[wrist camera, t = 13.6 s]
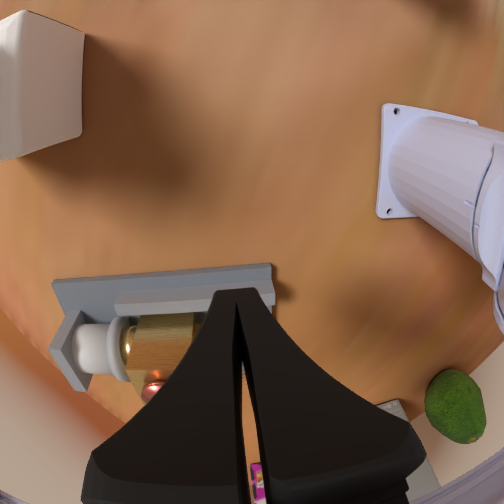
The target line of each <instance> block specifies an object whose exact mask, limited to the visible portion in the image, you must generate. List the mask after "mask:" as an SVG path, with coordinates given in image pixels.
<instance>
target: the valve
mask: <svg viewBox="0 0 504 504" xmlns="http://www.w3.org/2000/svg"><path fill="white" fill-rule="evenodd" d="M201 324H202V322H198V320H197V315H196V312H187V313H170V314H151V315H140V319H139V322H138V325H129V326H124V327H123V328H122V330H121V333H120V338H119V348H120V354H121V358H122V361H123V363H124V365H125V366H126V368H125V371H126V373H127V374H128V376H129V378H130V380H131V382H132V384H133V386H134V388H135V390H136V391H137V393H138V395H139V397H140V399H141V400H142V402H143V404H144V405H146V404H147V403H148V402H149V400H150V399H151V398H152V397H153V396H154V395H155V394H156V392H157V391H158V390H159V389H160V388H161V386H162V385H163V384H164V383H165V381H166V380H167V379H168V378H169V376H170V375H171V374H172V372H173V371H174V370H175V368H176V367H177V365H178V364H179V362H180V361H181V359H182V358H183V356H184V355H185V353H186V351H187V350H188V348H189V346H190V345H191V343H192V341H193V339H194V338H195V336H196V334H197V332H198V330H199V328H200V326H201Z"/></svg>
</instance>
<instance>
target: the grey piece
mask: <svg viewBox="0 0 504 504" xmlns="http://www.w3.org/2000/svg"><path fill="white" fill-rule="evenodd" d="M51 284H52V287H53V289H54V291H55V294H56V296H57V298H58V301H59V303H60V305H61V307H62V310H63V312H64V314H65V316H66V317H65V318H64V320H63V322H62V324H61V326H60V327H59V329H58V331H57V333H56V335H55V337H54V339H53V340H52V342H51V344H50V346H49V348H48V350H49V352H50V353H51V355H52V357H53V358H54V360H55V361H56V363H57V365H58V366H59V368H60V369H61V371H62V372H63V374H64V375H65V377H66V378H67V380H68V381H69V383H70V384H71V385H72V387H73V388H74V390H75V391H84V392H87V390H88V387H89V384H90V381H91V378H92V375H93V374H106V375H114V376H115V377H116V379H117V380H119V381H121V382H131V380H130V378H129V376H128V374H127V373H126V371H125V368H126V366H125V365H124V363H123V361H122V358H121V354H120V348H119V338H120V333H121V330H122V328H123V327H124V326H129V325H138V322H139V319H140V315H151V314H170V313H187V312H196V315H197V320H198V322H203V320H204V318H205V316H206V313H207V311H208V309H209V306H210V304H211V301H212V298H213V294H214V293H215V292H216V291H217V290H226V289H238V288H249V287H254V288H256V289H257V290H258V292H259V294H260V296H261V298H262V300H263V302H264V303H265V305H266V306H267V308H268V309H269V311H270V312H271V314H272V305H275V290H274V287H273V283H272V280H271V264H270V263H261V264H250V265H238V266H227V267H215V268H203V269H191V270H179V271H166V272H153V273H140V274H127V275H113V276H99V277H85V278H71V279H56V280H54V281H53V282H52V283H51ZM242 374H245V371H244V366H243V361H242Z"/></svg>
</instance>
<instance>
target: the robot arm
mask: <svg viewBox="0 0 504 504" xmlns="http://www.w3.org/2000/svg"><path fill="white" fill-rule="evenodd" d="M395 108H396V109H397V114H396V115H395V114H394V109H395ZM388 209H390V212H389V213H387V210H388ZM376 215H377V216H378V217H380V218H382V219H384V218H405V217H420V218H422V219H423V220H425V221H426V222H427V223H429V224H430V225H431V226H433V227H434V228H436V229H437V230H438V231H440V232H441V233H442V234H444V235H445V236H446V237H448V238H449V239H450V240H451V241H453V242H454V243H455V244H457V245H458V246H459V247H460V248H462V249H463V250H464V251H465V252H467V253H468V254H469V255H470V256H472V257H473V258H474V259H475V260H476V261H478V262H479V263H480V264H481V266H482V269H483V274H482V280H483V281H484V282H485V283H486V284H487V285H488V286H489V287H491V288H492V289H493V290H494V291H495V293H494V296H493V304H492V308H493V315H494V318H495V321H496V323H497V325H498V327H499V329H500V330H501V332H502V333H503V335H504V132H500V131H497V130H493V129H489V128H486V127H482V126H478V123H477V122H476V121H474V120H470V119H466V118H462V117H458V116H454V115H450V114H446V113H441V112H436V111H432V110H426V109H421V108H416V107H410V106H404V105H397V104H390V103H386V104H384V105H383V107H382V123H381V150H380V167H379V181H378V192H377V202H376ZM242 361H243V366H244V371H245V375H246V380H247V385H248V389H249V394H250V398H251V403H252V407H253V412H254V417H255V422H256V429H257V437H258V445H259V453H260V461H261V469H262V476H263V484H264V492H265V499H266V504H504V448H502V449H501V450H500V451H498V452H497V453H495V454H494V455H493V456H491V457H490V458H488V459H487V460H485V461H484V462H482V463H481V464H479V465H478V466H476V467H475V468H473V469H471V470H470V471H468V472H467V473H465V474H463V475H462V476H460V477H458V478H456V479H455V480H453V481H451V482H449V483H447V484H446V485H444V486H442V487H440V488H438V489H436V490H434V491H432V492H430V493H428V494H426V495H424V496H422V497H419V498H417V499H415V500H413V501H411V502H409V501H408V498H407V495H406V493H405V492H407V491H408V490H409V486H408V483H407V480H406V478H407V477H408V476H409V475H410V474H412V473H413V472H414V471H415V470H416V469H417V468H418V467H419V466H420V465H421V464H422V463H423V462H424V460H425V458H426V455H427V454H426V451H425V449H424V447H423V445H422V443H421V440H420V439H419V437H418V436H417V434H416V432H415V431H414V429H413V428H412V426H411V424H410V423H409V422H408V421H406V420H404V419H401V418H399V417H397V416H395V415H393V414H391V413H389V412H387V411H385V410H383V409H381V408H379V407H377V406H375V405H373V404H372V403H370V402H368V401H367V400H365V399H363V398H362V397H360V396H358V395H357V394H355V393H354V392H353V391H351V390H350V389H348V388H347V387H345V386H344V385H343V384H341V383H340V382H338V381H337V380H336V379H334V378H333V377H332V376H330V375H329V374H328V373H327V372H325V371H324V370H323V369H322V368H321V367H319V366H318V365H317V364H316V363H315V362H314V361H313V360H312V359H311V358H309V357H308V356H307V355H306V354H305V353H304V352H303V351H302V350H301V349H300V348H299V347H298V346H297V344H296V343H295V342H294V341H293V340H292V339H291V338H290V337H289V336H288V334H287V333H286V332H285V331H284V330H283V328H282V327H281V326H280V324H279V323H278V322H277V321H276V319H275V318H274V317H273V315H272V314H271V312H270V311H269V309H268V308H267V306H266V305H265V303H264V302H263V300H262V298H261V296H260V294H259V292H258V290H257V289H256V288H254V287H249V288H238V289H226V290H217V291H216V292H215V293H214V294H213V298H212V301H211V304H210V306H209V309H208V311H207V313H206V316H205V318H204V320H203V322H202V324H201V326H200V328H199V330H198V332H197V334H196V336H195V338H194V339H193V341H192V343H191V345H190V346H189V348H188V350H187V351H186V353H185V355H184V356H183V358H182V359H181V361H180V362H179V364H178V365H177V367H176V368H175V370H174V371H173V372H172V374H171V375H170V376H169V378H168V379H167V380H166V381H165V383H164V384H163V385H162V386H161V388H160V389H159V390H158V391H157V392H156V394H155V395H154V396H153V397H152V398H151V399H150V400H149V402H148V403H147V404H146V405H145V406H144V407H143V408H142V409H141V410H140V411H139V412H138V413H137V414H136V415H135V416H134V417H133V418H132V419H131V420H129V421H128V422H127V423H126V424H125V425H124V426H123V427H122V428H121V429H120V430H118V431H117V432H116V433H115V434H114V435H112V436H111V437H110V438H108V439H107V440H106V441H105V442H104V443H102V444H101V445H100V446H99V447H97V448H96V449H94V450H93V451H92V453H91V456H90V459H89V461H88V464H87V467H86V471H85V476H84V482H83V488H82V494H81V501H82V503H83V504H251V497H250V489H249V481H248V473H247V464H246V456H245V446H244V437H243V427H242ZM0 504H28V503H26V502H24V501H21V500H19V499H17V498H15V497H13V496H11V495H9V494H7V493H5V492H3V491H1V490H0Z"/></svg>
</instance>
